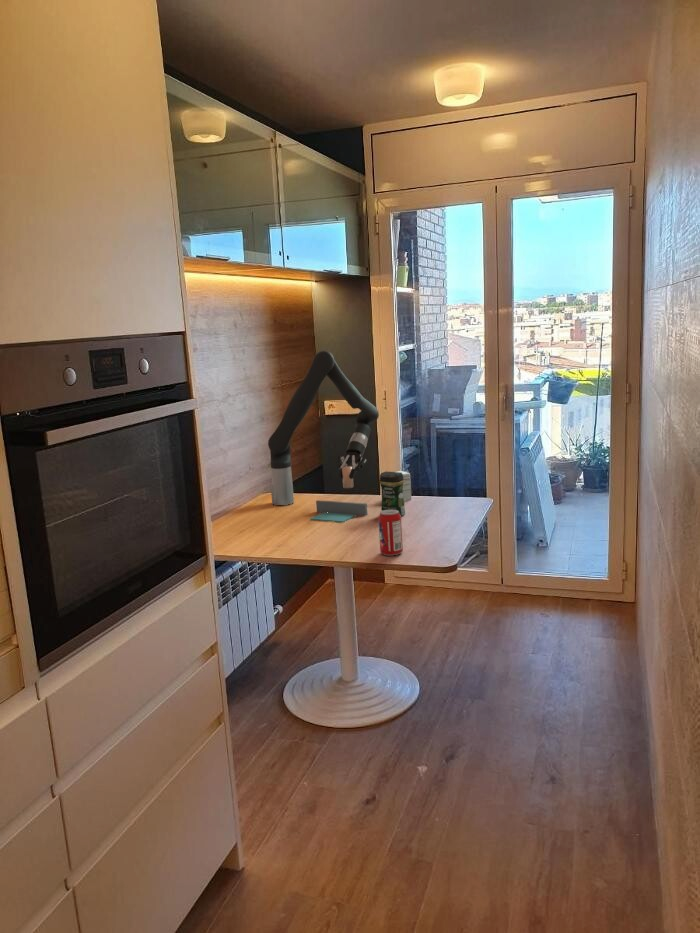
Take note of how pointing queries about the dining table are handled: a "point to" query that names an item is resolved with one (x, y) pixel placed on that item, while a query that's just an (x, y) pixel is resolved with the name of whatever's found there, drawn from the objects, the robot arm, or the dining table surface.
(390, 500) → the coffee jar
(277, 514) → the dining table surface
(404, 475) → the supplement box
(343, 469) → the tan domed capsule
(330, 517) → the teal mat
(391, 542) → the soda can
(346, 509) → the low wall
